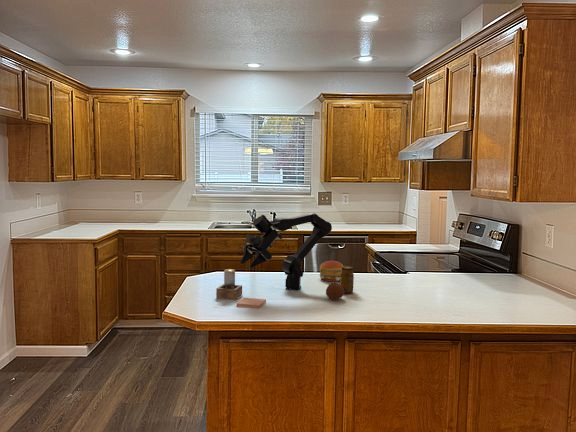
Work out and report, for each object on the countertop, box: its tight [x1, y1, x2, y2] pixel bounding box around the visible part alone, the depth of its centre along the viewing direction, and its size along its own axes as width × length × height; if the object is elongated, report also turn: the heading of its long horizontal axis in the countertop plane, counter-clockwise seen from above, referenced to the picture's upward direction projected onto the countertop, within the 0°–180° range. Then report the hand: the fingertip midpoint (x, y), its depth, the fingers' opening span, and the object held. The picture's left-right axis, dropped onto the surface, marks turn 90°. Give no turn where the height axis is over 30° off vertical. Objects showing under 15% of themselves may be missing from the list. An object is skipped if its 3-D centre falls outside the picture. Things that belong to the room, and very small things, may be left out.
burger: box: [319, 260, 345, 282], centre depth 274 cm, size 14×14×10 cm
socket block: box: [215, 283, 243, 301], centre depth 236 cm, size 9×9×4 cm
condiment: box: [339, 265, 358, 296], centre depth 246 cm, size 7×8×12 cm
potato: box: [325, 282, 345, 300], centre depth 235 cm, size 8×11×8 cm
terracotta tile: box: [235, 297, 267, 309], centre depth 224 cm, size 10×10×1 cm
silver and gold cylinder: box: [223, 268, 236, 289], centre depth 235 cm, size 5×5×9 cm
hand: (245, 265), depth 239 cm, fingers open, 9 cm apart
